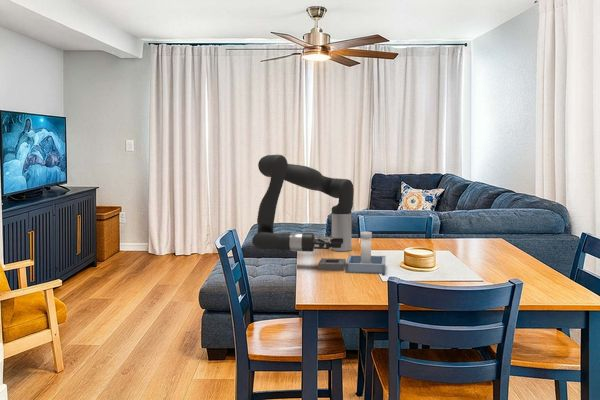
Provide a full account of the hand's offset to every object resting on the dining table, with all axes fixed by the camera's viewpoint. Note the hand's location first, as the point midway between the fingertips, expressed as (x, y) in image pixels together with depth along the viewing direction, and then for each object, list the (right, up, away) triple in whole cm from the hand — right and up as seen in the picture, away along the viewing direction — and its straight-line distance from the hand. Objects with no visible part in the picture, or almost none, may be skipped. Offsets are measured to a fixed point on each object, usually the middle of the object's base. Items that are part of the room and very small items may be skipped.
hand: (342, 243), depth 228 cm
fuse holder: (-4, -10, +2) cm, 11 cm away
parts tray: (+9, -11, 0) cm, 14 cm away
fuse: (+9, -9, 0) cm, 13 cm away
